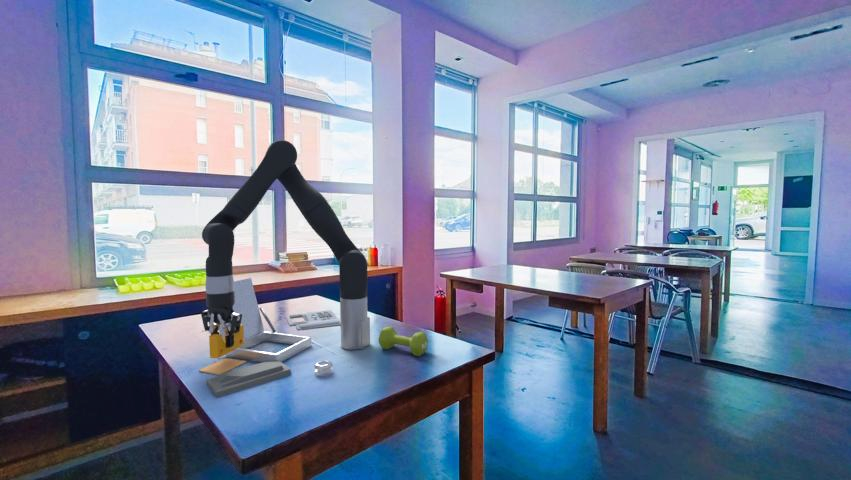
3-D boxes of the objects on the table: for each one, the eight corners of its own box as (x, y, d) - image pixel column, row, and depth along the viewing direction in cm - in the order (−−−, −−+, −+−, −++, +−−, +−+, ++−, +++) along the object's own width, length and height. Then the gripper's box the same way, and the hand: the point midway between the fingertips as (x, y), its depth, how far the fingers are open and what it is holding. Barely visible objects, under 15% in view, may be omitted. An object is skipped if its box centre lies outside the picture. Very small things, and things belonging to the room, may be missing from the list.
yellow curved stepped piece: (231, 343, 125) (231, 323, 125) (244, 344, 125) (243, 324, 124) (204, 357, 114) (203, 335, 113) (218, 358, 113) (217, 336, 112)
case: (313, 344, 138) (313, 336, 138) (276, 364, 120) (276, 355, 120) (267, 338, 145) (267, 330, 144) (226, 356, 127) (225, 347, 126)
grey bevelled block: (205, 386, 107) (204, 374, 106) (277, 366, 120) (277, 355, 120) (216, 399, 99) (216, 386, 99) (292, 376, 113) (292, 364, 113)
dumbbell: (430, 351, 131) (430, 330, 130) (418, 359, 124) (417, 337, 124) (390, 343, 139) (389, 323, 139) (376, 350, 132) (376, 329, 132)
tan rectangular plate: (246, 362, 122) (246, 361, 122) (219, 375, 112) (219, 373, 112) (226, 359, 124) (226, 357, 124) (198, 371, 115) (198, 370, 115)
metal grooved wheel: (336, 372, 115) (325, 368, 118) (335, 362, 114) (325, 358, 117) (321, 378, 111) (311, 373, 114) (321, 367, 110) (311, 363, 114)
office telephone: (342, 320, 161) (291, 326, 152) (342, 326, 161) (291, 333, 153) (331, 307, 182) (285, 312, 173) (331, 312, 182) (285, 317, 174)
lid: (251, 277, 143) (248, 278, 144) (210, 286, 127) (207, 287, 127) (264, 331, 143) (261, 331, 144) (224, 347, 127) (221, 347, 127)
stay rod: (277, 334, 143) (276, 308, 142) (275, 335, 142) (275, 309, 141) (261, 332, 145) (260, 306, 145) (259, 333, 145) (258, 307, 144)
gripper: (248, 289, 118) (250, 344, 119) (212, 286, 123) (215, 339, 124) (228, 294, 111) (231, 353, 112) (191, 290, 116) (193, 347, 117)
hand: (222, 345), depth 118 cm, fingers closed on yellow curved stepped piece, 4 cm apart
